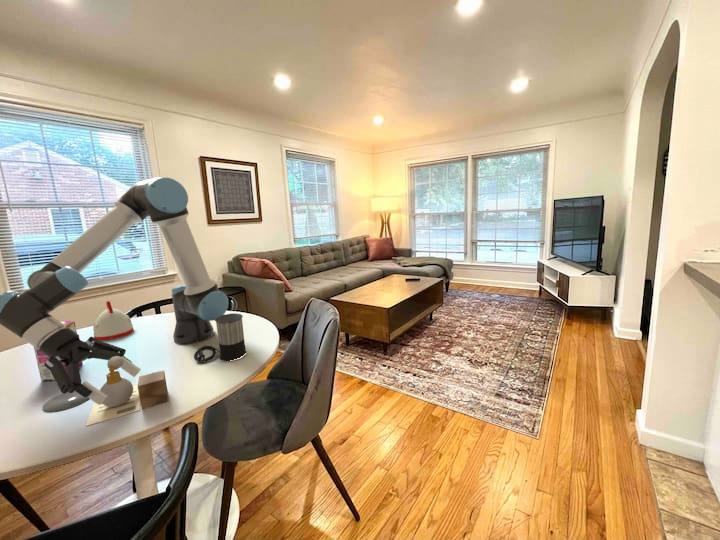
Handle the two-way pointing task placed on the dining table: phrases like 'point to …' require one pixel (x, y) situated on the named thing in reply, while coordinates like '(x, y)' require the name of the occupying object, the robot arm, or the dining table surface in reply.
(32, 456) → the dining table surface
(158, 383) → the walnut block
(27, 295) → the robot arm
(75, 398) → the grey smooth round part
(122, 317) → the white and red dome
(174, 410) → the dining table surface
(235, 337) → the milk frother
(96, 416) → the letter
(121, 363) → the perfume bottle
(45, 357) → the candy bar box
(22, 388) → the dining table surface
